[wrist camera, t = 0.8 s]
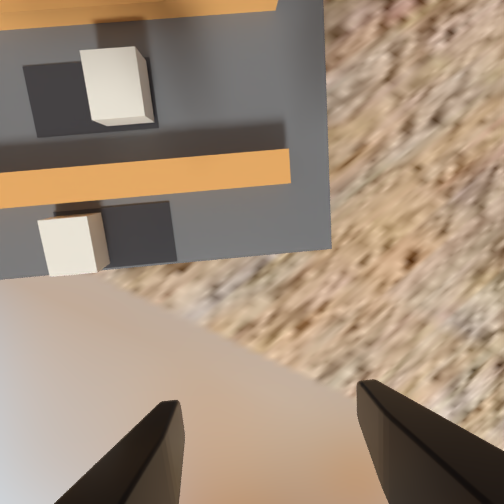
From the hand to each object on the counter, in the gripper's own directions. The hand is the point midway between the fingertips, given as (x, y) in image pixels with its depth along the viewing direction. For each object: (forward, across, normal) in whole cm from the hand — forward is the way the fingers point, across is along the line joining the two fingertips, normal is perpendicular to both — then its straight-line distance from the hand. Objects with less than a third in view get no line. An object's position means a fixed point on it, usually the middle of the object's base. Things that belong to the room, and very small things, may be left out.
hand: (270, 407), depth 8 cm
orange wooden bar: (+9, +6, -6) cm, 12 cm away
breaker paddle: (+9, +5, -9) cm, 13 cm away
